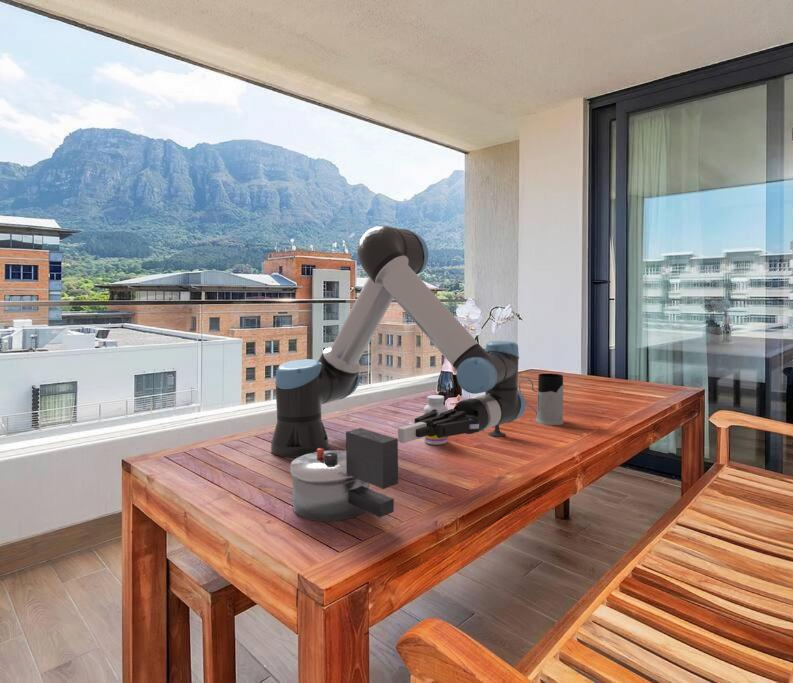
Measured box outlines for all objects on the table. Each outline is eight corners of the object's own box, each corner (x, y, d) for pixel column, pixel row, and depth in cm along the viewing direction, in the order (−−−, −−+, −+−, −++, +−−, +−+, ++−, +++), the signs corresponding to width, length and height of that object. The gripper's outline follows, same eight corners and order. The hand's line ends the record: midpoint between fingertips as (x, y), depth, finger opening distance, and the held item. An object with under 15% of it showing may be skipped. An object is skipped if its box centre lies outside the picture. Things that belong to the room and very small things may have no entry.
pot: (270, 500, 103) (269, 466, 102) (330, 480, 113) (329, 450, 113) (354, 546, 84) (353, 505, 83) (416, 517, 94) (416, 481, 94)
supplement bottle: (450, 444, 139) (450, 398, 138) (426, 446, 138) (426, 399, 137) (444, 438, 146) (444, 393, 144) (421, 439, 145) (421, 394, 143)
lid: (275, 468, 100) (273, 422, 99) (338, 451, 111) (337, 409, 110) (355, 506, 82) (354, 451, 81) (422, 481, 93) (421, 432, 92)
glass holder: (563, 426, 157) (564, 378, 156) (516, 422, 162) (517, 375, 161) (564, 419, 166) (565, 373, 164) (519, 416, 170) (520, 371, 169)
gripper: (500, 436, 109) (425, 462, 93) (453, 425, 119) (378, 446, 102) (500, 402, 109) (425, 422, 92) (453, 393, 118) (377, 410, 102)
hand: (400, 435), depth 97 cm, fingers closed
